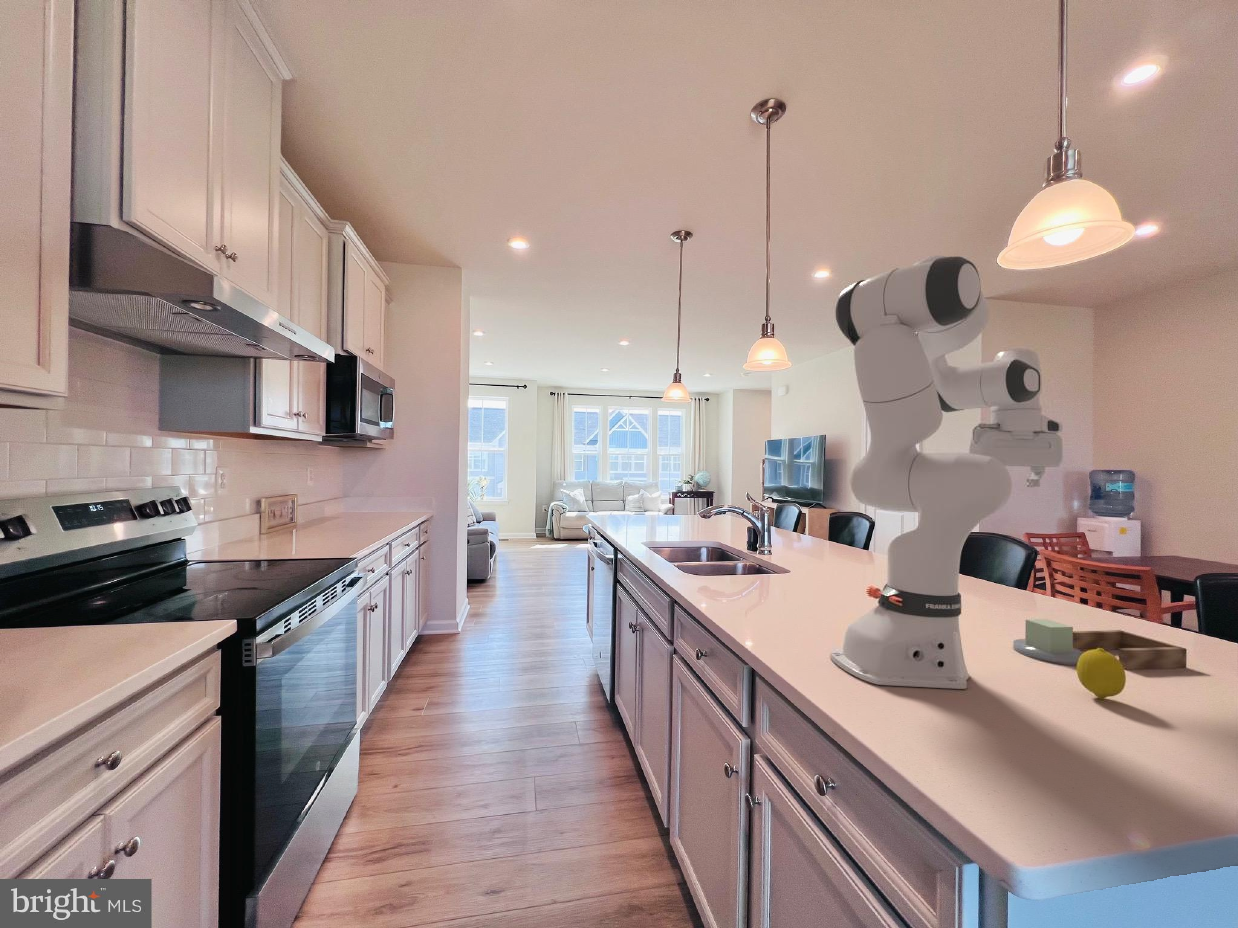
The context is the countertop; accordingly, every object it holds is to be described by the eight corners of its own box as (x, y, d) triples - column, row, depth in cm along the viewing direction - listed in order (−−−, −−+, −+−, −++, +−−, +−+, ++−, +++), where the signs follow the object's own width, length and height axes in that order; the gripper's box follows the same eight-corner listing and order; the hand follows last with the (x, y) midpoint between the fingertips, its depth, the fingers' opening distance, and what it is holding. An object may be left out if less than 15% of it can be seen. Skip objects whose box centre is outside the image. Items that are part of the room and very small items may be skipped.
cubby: (1125, 669, 90) (1125, 650, 90) (1064, 648, 100) (1064, 631, 100) (1186, 667, 91) (1186, 648, 92) (1120, 646, 102) (1120, 630, 102)
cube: (1050, 653, 94) (1050, 627, 94) (1025, 644, 99) (1025, 619, 99) (1072, 652, 94) (1072, 626, 95) (1046, 643, 99) (1047, 619, 99)
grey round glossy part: (1053, 666, 90) (1053, 659, 90) (999, 645, 101) (999, 639, 101) (1103, 664, 92) (1103, 658, 92) (1045, 643, 103) (1045, 638, 103)
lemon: (1103, 692, 80) (1104, 643, 80) (1136, 708, 74) (1136, 655, 74) (1067, 689, 80) (1067, 641, 80) (1096, 705, 75) (1097, 653, 75)
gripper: (986, 421, 103) (985, 486, 103) (1069, 424, 106) (1068, 488, 106) (961, 424, 109) (960, 485, 109) (1040, 427, 112) (1040, 487, 112)
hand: (1014, 486), depth 107 cm, fingers open, 8 cm apart
